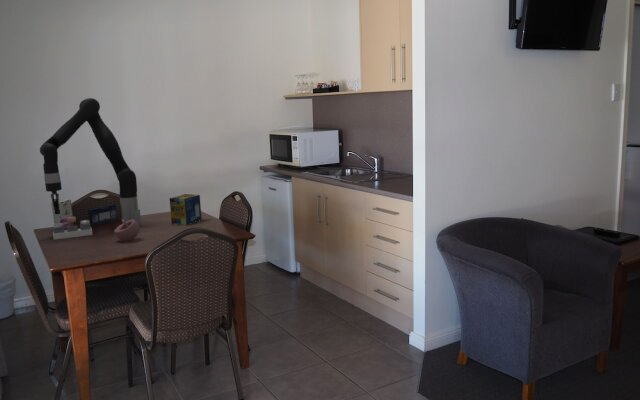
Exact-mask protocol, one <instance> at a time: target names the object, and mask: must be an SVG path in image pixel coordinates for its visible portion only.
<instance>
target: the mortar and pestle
mask: <svg viewBox="0 0 640 400" xmlns="http://www.w3.org/2000/svg"><path fill="white" fill-rule="evenodd" d="M121 222H123V223H122V224H119V225H118V226H117V227H116V228H115V229H114V231H113V232H114V235H115V236H116V238H117V239H119V240H121V241H123V242H129V241H132V240H134V239H135V238H136V237H138V234H139V233H140V226H139V225H138V223H137V222H136V221H135V220H134V219H131V220H128V221H126V222H125V221H124V220H123V219H122V218H121Z"/></svg>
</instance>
